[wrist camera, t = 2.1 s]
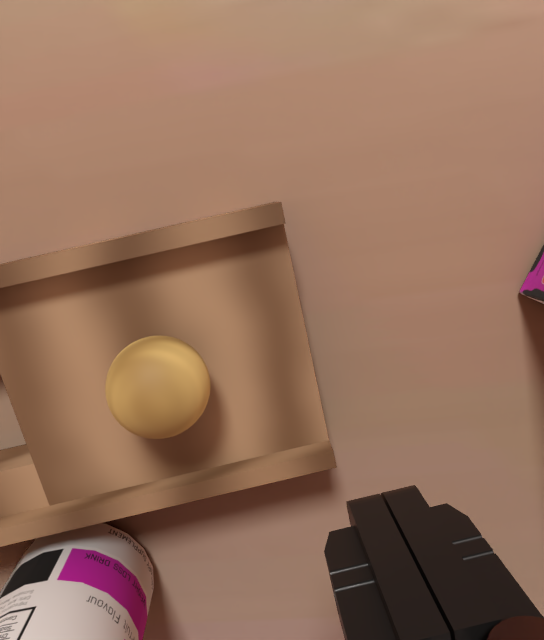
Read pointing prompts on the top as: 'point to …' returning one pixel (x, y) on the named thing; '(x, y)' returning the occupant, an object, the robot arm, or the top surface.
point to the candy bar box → (535, 280)
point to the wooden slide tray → (139, 322)
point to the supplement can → (79, 588)
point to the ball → (157, 387)
